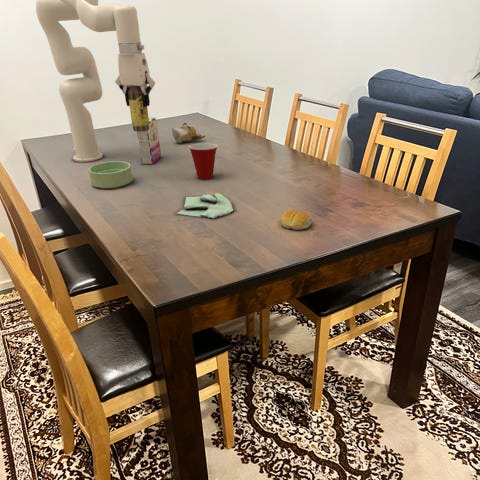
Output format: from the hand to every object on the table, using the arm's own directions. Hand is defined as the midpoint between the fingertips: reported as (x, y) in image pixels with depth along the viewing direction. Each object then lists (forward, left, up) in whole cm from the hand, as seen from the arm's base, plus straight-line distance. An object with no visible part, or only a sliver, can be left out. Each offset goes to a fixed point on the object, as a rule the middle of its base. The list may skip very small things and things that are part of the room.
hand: (138, 105), depth 172 cm
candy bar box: (-16, +14, -26) cm, 34 cm away
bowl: (-5, -14, -26) cm, 29 cm away
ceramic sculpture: (-27, +45, -26) cm, 59 cm away
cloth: (+41, -9, -26) cm, 49 cm away
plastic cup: (+19, +12, -26) cm, 35 cm away
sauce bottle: (0, 0, -9) cm, 9 cm away
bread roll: (+74, -4, -26) cm, 79 cm away
